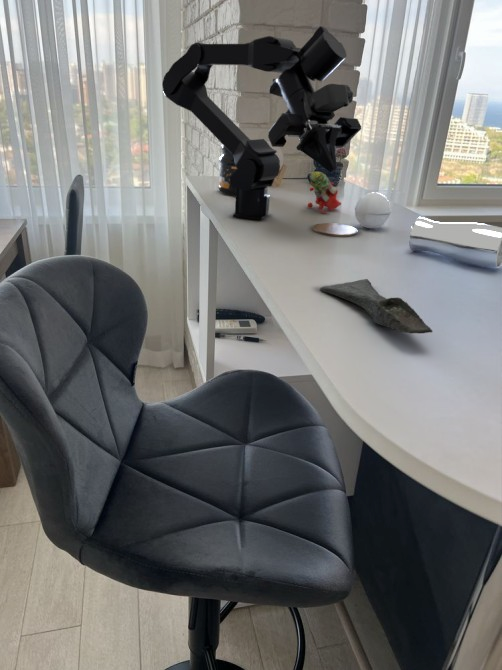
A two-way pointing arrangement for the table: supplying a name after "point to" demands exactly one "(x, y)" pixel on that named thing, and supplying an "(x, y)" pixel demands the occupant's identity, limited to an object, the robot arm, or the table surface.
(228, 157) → the supplement container
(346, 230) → the coaster
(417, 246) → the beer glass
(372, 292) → the tool
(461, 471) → the table surface
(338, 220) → the table surface
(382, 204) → the white sphere
